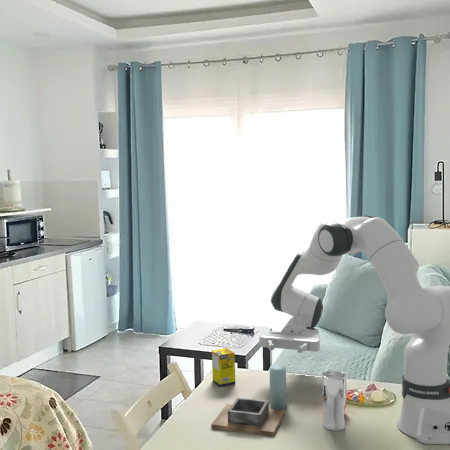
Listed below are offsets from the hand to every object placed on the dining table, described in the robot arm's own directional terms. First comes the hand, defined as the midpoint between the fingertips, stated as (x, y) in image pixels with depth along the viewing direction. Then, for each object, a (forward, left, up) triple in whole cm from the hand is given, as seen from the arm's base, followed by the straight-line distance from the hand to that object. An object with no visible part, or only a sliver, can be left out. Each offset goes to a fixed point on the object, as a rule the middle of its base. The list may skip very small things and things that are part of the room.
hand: (285, 349), depth 187 cm
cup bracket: (+6, +24, -14) cm, 29 cm away
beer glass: (-18, +21, -14) cm, 31 cm away
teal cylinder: (0, +12, -14) cm, 19 cm away
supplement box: (+22, -2, -14) cm, 26 cm away
